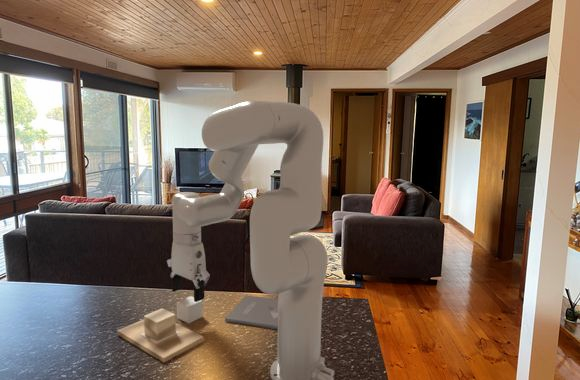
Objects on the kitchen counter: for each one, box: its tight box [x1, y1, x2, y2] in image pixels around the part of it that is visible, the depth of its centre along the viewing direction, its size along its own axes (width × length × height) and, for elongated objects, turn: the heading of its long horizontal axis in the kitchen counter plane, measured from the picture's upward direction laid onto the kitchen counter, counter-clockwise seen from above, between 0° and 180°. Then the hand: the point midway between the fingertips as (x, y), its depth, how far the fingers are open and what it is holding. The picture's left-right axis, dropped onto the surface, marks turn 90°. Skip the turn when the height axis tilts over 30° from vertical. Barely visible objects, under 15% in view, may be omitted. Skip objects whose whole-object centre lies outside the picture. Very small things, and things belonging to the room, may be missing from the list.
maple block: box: [143, 308, 176, 341], centre depth 104 cm, size 6×6×5 cm
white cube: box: [176, 295, 203, 324], centre depth 115 cm, size 5×5×5 cm
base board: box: [116, 318, 205, 364], centre depth 104 cm, size 20×12×1 cm, turn 53°
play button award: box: [224, 294, 278, 330], centre depth 119 cm, size 16×2×20 cm
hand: (187, 294), depth 115 cm, fingers open, 9 cm apart
